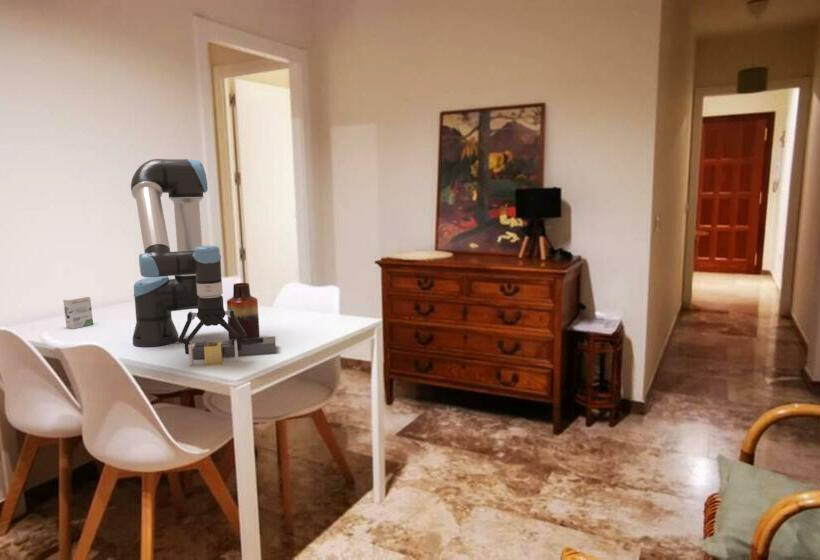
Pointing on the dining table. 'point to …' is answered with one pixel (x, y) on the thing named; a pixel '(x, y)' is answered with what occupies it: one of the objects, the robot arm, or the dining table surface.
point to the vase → (244, 310)
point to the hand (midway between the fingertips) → (214, 362)
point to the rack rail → (247, 347)
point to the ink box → (78, 312)
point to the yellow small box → (213, 353)
